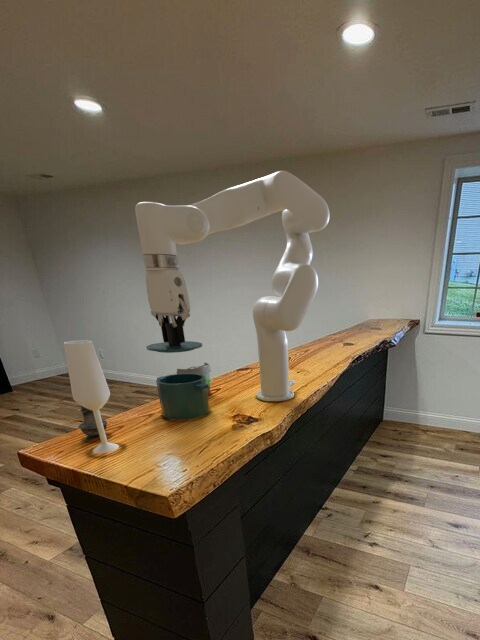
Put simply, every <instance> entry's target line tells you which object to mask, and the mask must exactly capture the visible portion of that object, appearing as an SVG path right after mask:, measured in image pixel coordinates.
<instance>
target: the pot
mask: <svg viewBox="0 0 480 640" xmlns="http://www.w3.org/2000/svg"><path fill="white" fill-rule="evenodd" d="M156 387H157V393H158V399H159V403H160V408H161V409H160V410H161V414H162V416H163V417H164V418H165V419H168V420H174V421H182V420H191V419H192V420H193V419H196V418H200V417H202V416H203V417H204V416H205V415H207V414H209V412H210V405H209V395H208V396H207V388H208V384H206V380H205V376H203V375H201V374H194V373H183V374H177V373H174V374H168V375H163V376H159V377H156Z"/></svg>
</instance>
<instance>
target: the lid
mask: <svg viewBox="0 0 480 640" xmlns="http://www.w3.org/2000/svg"><path fill="white" fill-rule="evenodd" d="M165 326H166V332H167V338H168V342H164V341H163V342H155V343H151V344H148V345H146V350H147V351H152V352H157V353H164V354H172V353H173V354H174V353H184V352H190V351H191V352H192V351H194V350H197V349H200V348H202V347H203V342H200V341H190V340H189V341H188V340H185V342H183V343H177V344H176V343H174V342H173V336H172V330H171V327H173V325H172V322H171V323H165Z"/></svg>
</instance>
